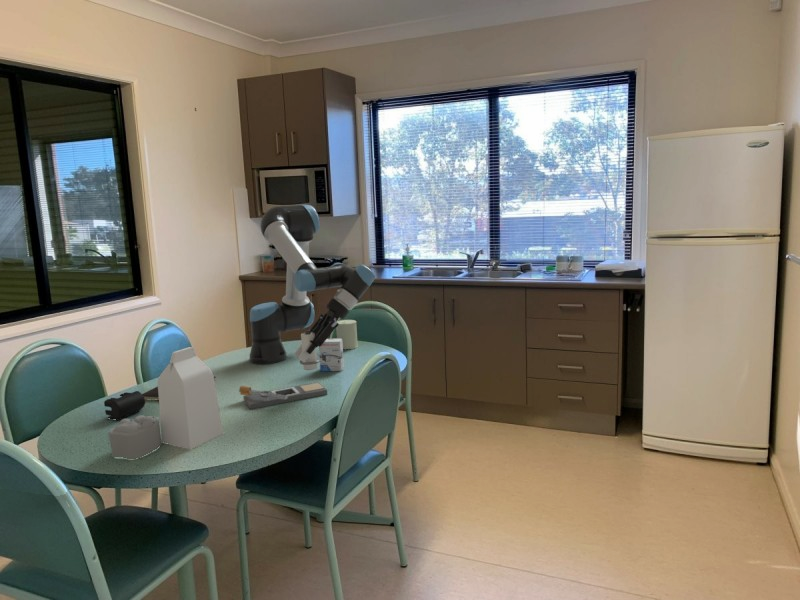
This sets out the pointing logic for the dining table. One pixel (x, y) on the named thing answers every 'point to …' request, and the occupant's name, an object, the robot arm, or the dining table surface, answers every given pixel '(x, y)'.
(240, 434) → the dining table surface
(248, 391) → the clip
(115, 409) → the end cap
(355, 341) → the cream tapered cylinder
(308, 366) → the plug
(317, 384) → the grey slotted tray
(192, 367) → the milk
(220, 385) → the dining table surface
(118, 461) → the dining table surface
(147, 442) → the lumpy-topped squat cylinder
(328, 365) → the ink box
